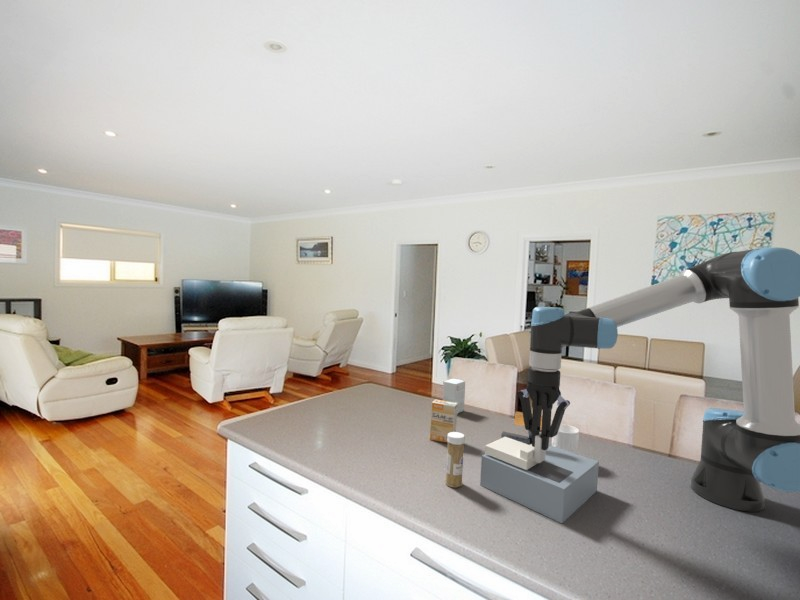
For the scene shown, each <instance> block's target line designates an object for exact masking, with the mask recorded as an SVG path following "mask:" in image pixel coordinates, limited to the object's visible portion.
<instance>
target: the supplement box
mask: <svg viewBox="0 0 800 600" xmlns="http://www.w3.org/2000/svg"><path fill="white" fill-rule="evenodd" d="M457 407H458V403H454V402H448V401H443V399H442V400H440V399H436V398H435V399H434V400H433V401H432V402H431V410H430V411H431V412H430V414H431V415H430V427H429V428H430V430H429V440H430V441H436V442H442V443H447V444H448V441H447V436H448V433H450V432H457V424H458V423H457V422H458V421H457V420H458V419H457V418H458V414H457Z"/></svg>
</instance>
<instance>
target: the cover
mask: <svg viewBox="0 0 800 600" xmlns="http://www.w3.org/2000/svg"><path fill="white" fill-rule="evenodd" d="M534 450H535V447H533V446H532V444H531V445H528V444H525V443H522V442H519V441H516V440H513V439H511V438H508V437H503V438H499V439H497V440H495V441H493V442H490V443H487V444H486V445H485V446H484V454H487V455H490V456H492V457H495V458H497V459H500V460H502V461H505V462H507V463H510V464H512V465H515V466H517V467H520V468H522V469H525V470H528V469H529V468H531V467H533V466H534V465H536V464H538V463H537V462H535V461H534ZM545 452H546V451H545ZM544 459H545V457H544Z"/></svg>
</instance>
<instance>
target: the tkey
mask: <svg viewBox="0 0 800 600" xmlns="http://www.w3.org/2000/svg"><path fill="white" fill-rule="evenodd" d="M513 425H517V426H521V427H525V424H524V418H523V412H522V411H516V410H515V413H514V423H513ZM541 429H542V415H541V428H540V430H541ZM500 437H501V438H503V437H508V438H511V439H513V440H516V441H520V442H525V443H529V444H532V433H531V432H530V431H529V430H527V435H523V434H517V433H513V432H509V431H508V432H507V431H502V432H501V436H500ZM501 438H500V439H501Z"/></svg>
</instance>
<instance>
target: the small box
mask: <svg viewBox="0 0 800 600" xmlns="http://www.w3.org/2000/svg"><path fill="white" fill-rule="evenodd" d="M442 384H443V385H442V401H448V402H454V403H458V407H457V415H458V414H459V413H461V412H465V398H466V397H465V396H466V395H465V394H466V380H462V379H458V378H450V379H447V380H444V381H443V383H442Z"/></svg>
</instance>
